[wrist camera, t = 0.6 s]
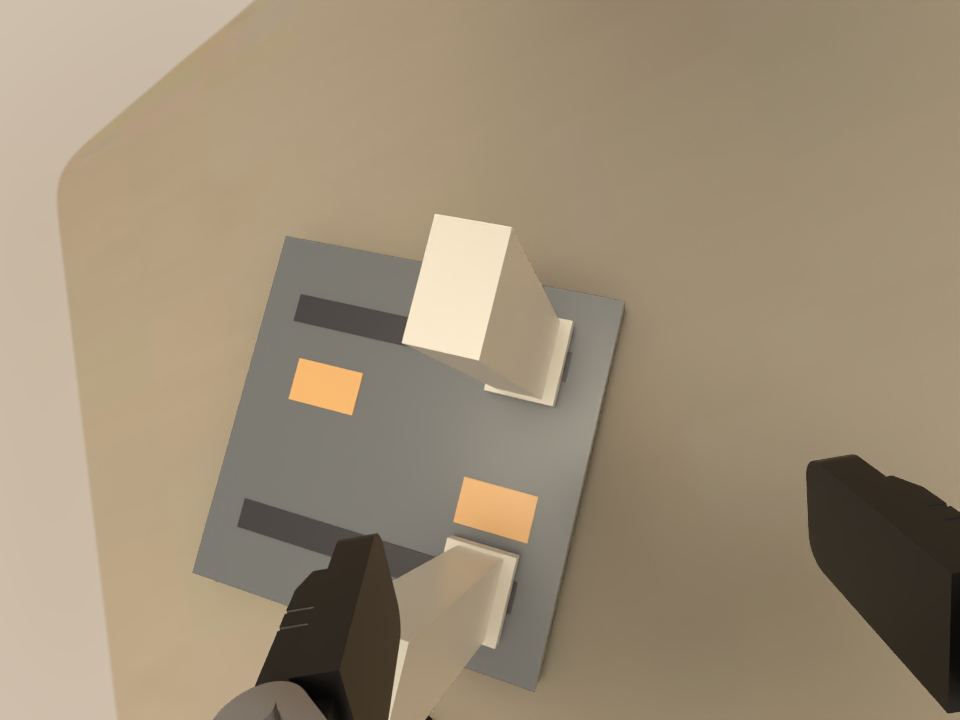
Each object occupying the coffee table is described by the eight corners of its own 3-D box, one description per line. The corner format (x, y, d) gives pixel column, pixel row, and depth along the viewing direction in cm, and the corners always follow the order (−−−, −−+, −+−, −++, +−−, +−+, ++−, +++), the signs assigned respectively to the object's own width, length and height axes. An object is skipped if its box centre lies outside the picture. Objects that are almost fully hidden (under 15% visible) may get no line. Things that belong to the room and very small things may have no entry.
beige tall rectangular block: (452, 535, 34) (314, 601, 19) (519, 555, 33) (430, 641, 18) (431, 620, 33) (273, 757, 18) (498, 643, 32) (390, 806, 17)
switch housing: (302, 246, 40) (285, 235, 38) (624, 309, 36) (624, 300, 34) (213, 566, 39) (191, 573, 37) (539, 678, 34) (534, 692, 32)
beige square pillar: (507, 310, 35) (417, 204, 20) (574, 324, 34) (533, 223, 19) (487, 391, 34) (381, 345, 19) (554, 407, 33) (496, 371, 18)
